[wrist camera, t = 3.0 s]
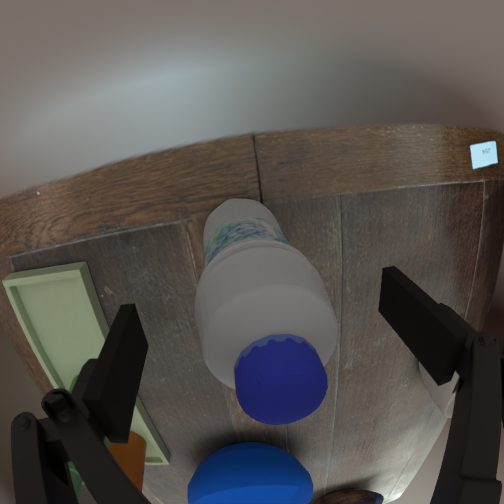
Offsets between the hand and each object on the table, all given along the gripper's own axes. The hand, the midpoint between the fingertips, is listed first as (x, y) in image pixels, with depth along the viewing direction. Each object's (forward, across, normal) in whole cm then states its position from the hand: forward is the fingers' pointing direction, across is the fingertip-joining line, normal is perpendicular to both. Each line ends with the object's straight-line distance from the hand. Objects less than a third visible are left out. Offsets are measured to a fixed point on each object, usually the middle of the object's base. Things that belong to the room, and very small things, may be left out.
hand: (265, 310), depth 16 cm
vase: (+14, -4, -37) cm, 40 cm away
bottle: (+14, 0, 0) cm, 14 cm away
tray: (+13, -21, -18) cm, 30 cm away
